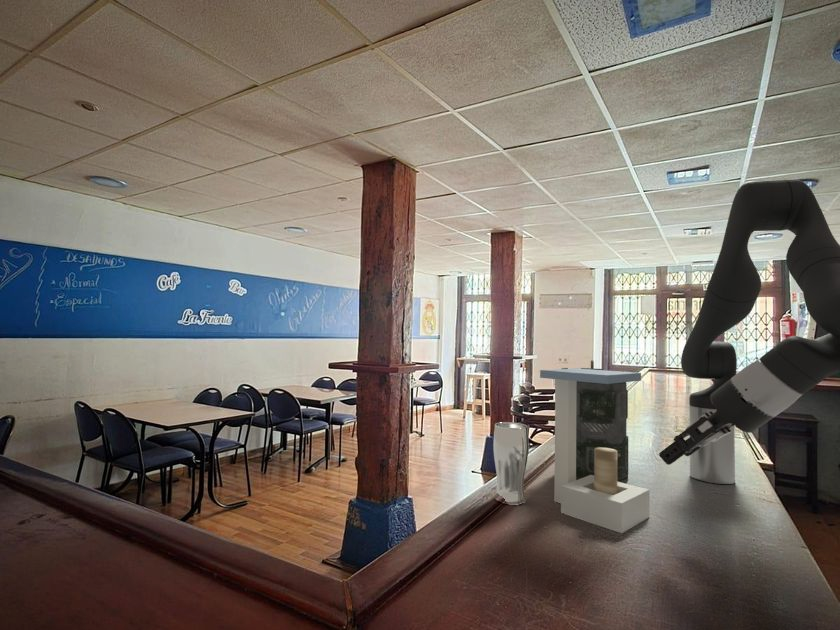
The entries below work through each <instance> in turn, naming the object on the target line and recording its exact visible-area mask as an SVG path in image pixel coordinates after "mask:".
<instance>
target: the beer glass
mask: <svg viewBox="0 0 840 630" xmlns="http://www.w3.org/2000/svg"><path fill="white" fill-rule="evenodd" d="M492 443H493V446H492V447H493V448H492V449H493V458H494V459H493V460H494V465H495V471H496V490H495V493H496V492H497V493H498V494H499V495H500V496H502V497H503V498H504V499H505V501H506V502H507V503H510V504H520V503H523V502H525V503H526V495H525V494H526V493H525V485H524V484H525V483H524V481H525V474H526V470H527V464H528V457H529V430H528V425H526V424H524V423H521V422H520V423H519V422H513V421H511V422H509V421H502V422H501V421H500V422H496V423H494V431H493V442H492Z"/></svg>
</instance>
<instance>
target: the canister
mask: <svg viewBox="0 0 840 630" xmlns="http://www.w3.org/2000/svg"><path fill="white" fill-rule="evenodd" d="M594 365H595V362H594V360H593V359H591V360H590V368H589V367H587V368H586V367H580V369H592V370H604V369H603V368H594V367H595V366H594ZM561 369H569V367H562V368H561ZM605 370H606V369H605ZM606 371H608V370H606ZM621 372H625V371H624V370H621ZM627 383H628V382H622V383H612V384H602V383H591V382H580V381H577V387H576V480H578V479H581V478H584V477H586V476H589V475H594V449H595V448H599V447H602V448H611V449H614V450H617V482H621V483H625V484H628V482H629V436H628V435H627V419H628V417H629V416H628V415H629V411H628V410H629V405H628V404H629V401H628V400H629V391H628V389H627V387H628V384H627Z"/></svg>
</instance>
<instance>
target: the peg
mask: <svg viewBox="0 0 840 630" xmlns="http://www.w3.org/2000/svg"><path fill="white" fill-rule="evenodd" d="M594 490H596V491H599V492H603V493H607V494H610V495H615V494H617V450H614V449H611V448H602V447H599V448H595V449H594Z"/></svg>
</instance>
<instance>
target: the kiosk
mask: <svg viewBox="0 0 840 630" xmlns="http://www.w3.org/2000/svg"><path fill="white" fill-rule="evenodd" d="M539 378H540V379H549V380H555V384H554V385H555V386H554V389H555V390H554V391H555V392H554V403H555V404H554V476H553V479H554V481H553V483H554V485H553V486H554V488H553V489H554V491H553V493H554V496H553V500H554V501H555V502H554V503H556V502H558V503H557V504H559V503H561V504H560V514H563V513H564V515H565V516H569V517H573V518H575V519H578V520H580V521H581V520H582V521H583V522H587V523H590V524H593V525H595V526H598V527H602V528H604V529H608V530H610V531H614V532H617V533H619V534H624V533H625V532H627V531H628V530H630V529H631V528H634V527H636V526H637V525H639V524H640V523H641V522H642V523H643V522H644V521H645V520H647V519H648V518H650V512H651V511H650V508H651V507H650V505H651V503H650V489H649V488H644V487H642V486H640V487H639V486H636V485H633V484H629V483H627V484H625V483H621V482H617V494H615V495H610V494H607V493H603V492H599V491H596V490H594V475H589V476H586V477H584V478H581V479H578V480H576V387H577V381H580V382H591V383H602V384H612V383H622V382H626V383H630V382H641V381H642V373H641V372H634V371H633V372H631V371H624V372H622V370H621V371H618V370H607V371H606V369H603V370H592V369H581V368H568V369H562V368H557V369H556V368H555V369H540V370H539Z"/></svg>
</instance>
